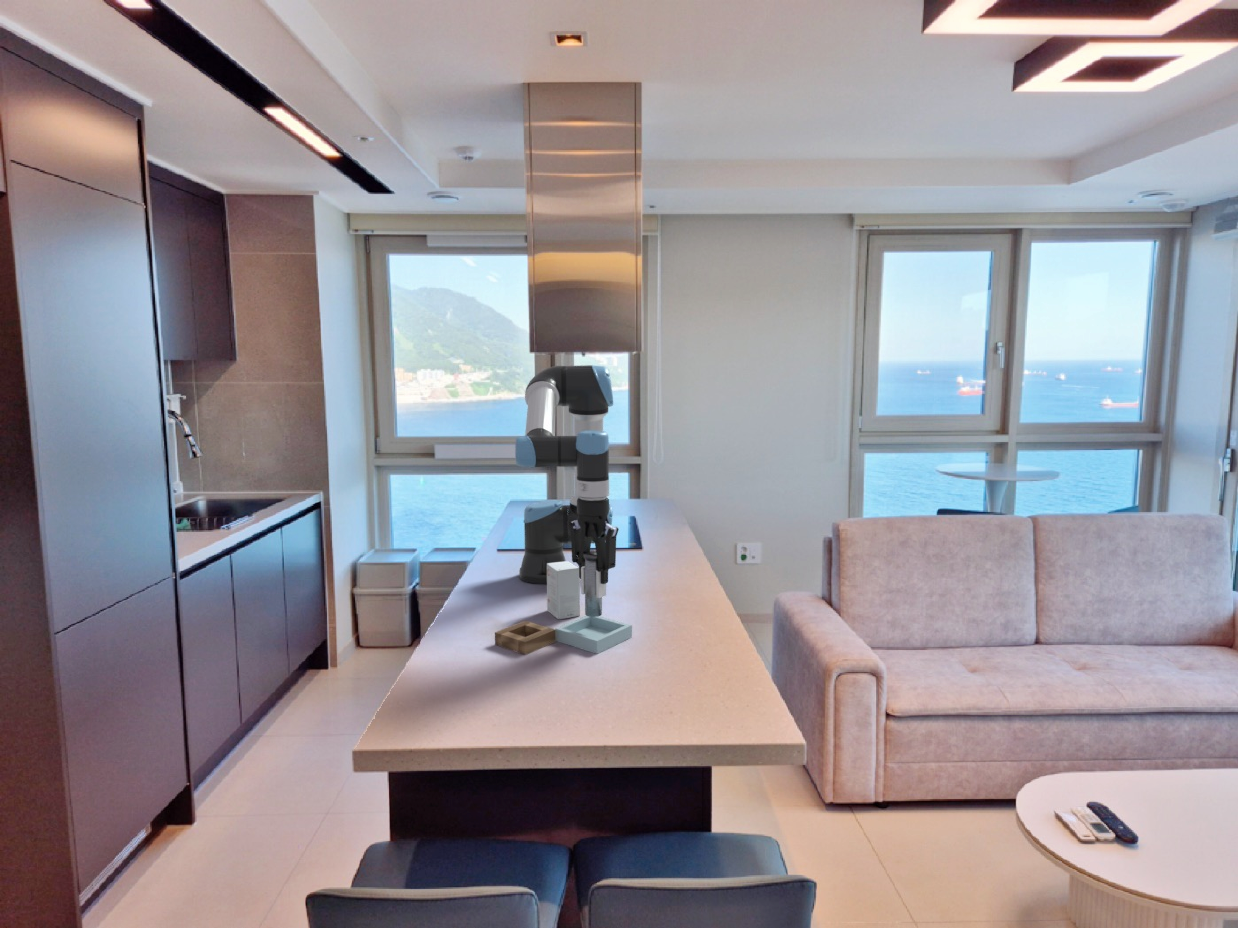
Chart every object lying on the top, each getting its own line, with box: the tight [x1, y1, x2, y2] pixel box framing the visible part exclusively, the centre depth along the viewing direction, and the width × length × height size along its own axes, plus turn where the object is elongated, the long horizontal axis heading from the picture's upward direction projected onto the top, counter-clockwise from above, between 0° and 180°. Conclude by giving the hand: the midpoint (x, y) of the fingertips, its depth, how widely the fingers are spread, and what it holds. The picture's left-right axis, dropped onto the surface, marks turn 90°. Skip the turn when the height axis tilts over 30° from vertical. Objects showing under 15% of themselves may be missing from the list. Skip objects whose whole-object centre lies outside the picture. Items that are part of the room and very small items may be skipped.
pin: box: [583, 550, 603, 617], centre depth 178 cm, size 5×5×15 cm
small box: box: [546, 560, 581, 620], centre depth 197 cm, size 8×6×13 cm
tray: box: [554, 615, 633, 655], centre depth 180 cm, size 13×13×3 cm
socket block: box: [494, 620, 556, 656], centre depth 177 cm, size 10×10×3 cm
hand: (593, 594), depth 179 cm, fingers closed on pin, 4 cm apart
